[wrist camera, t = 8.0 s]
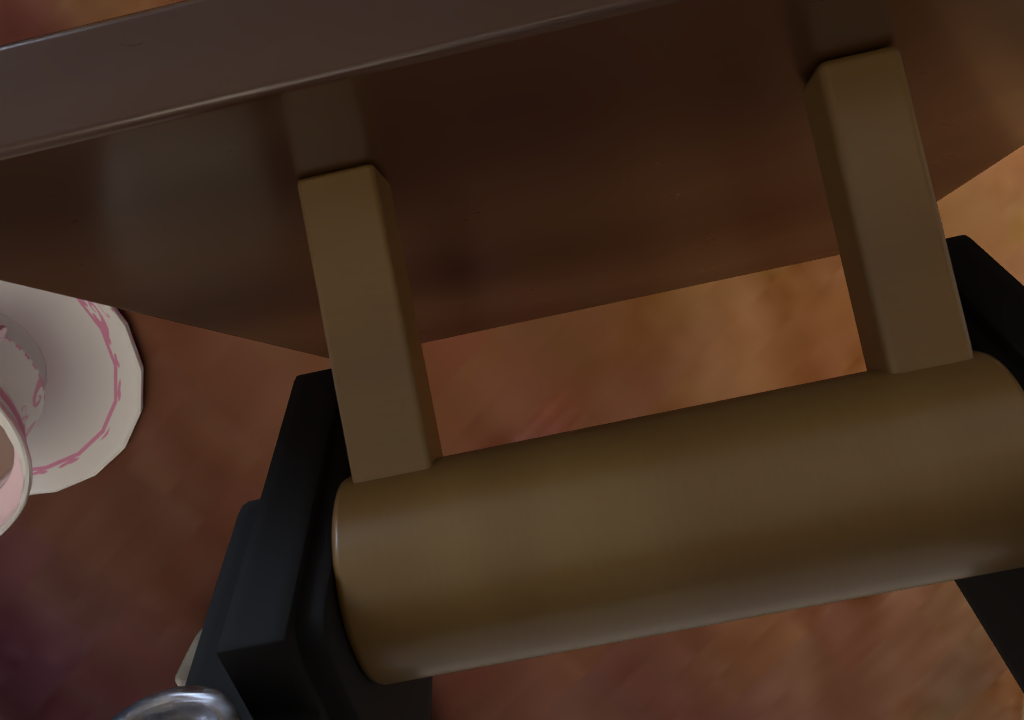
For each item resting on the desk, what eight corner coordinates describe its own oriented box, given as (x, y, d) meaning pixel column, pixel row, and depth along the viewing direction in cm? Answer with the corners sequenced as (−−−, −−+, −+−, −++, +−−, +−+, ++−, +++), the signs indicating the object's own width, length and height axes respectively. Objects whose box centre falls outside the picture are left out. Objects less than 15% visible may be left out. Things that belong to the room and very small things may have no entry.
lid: (-286, 111, 7) (-185, 865, 6) (1548, -339, 6) (1815, 509, 5) (330, 327, 22) (371, 550, 22) (857, 214, 21) (912, 444, 21)
